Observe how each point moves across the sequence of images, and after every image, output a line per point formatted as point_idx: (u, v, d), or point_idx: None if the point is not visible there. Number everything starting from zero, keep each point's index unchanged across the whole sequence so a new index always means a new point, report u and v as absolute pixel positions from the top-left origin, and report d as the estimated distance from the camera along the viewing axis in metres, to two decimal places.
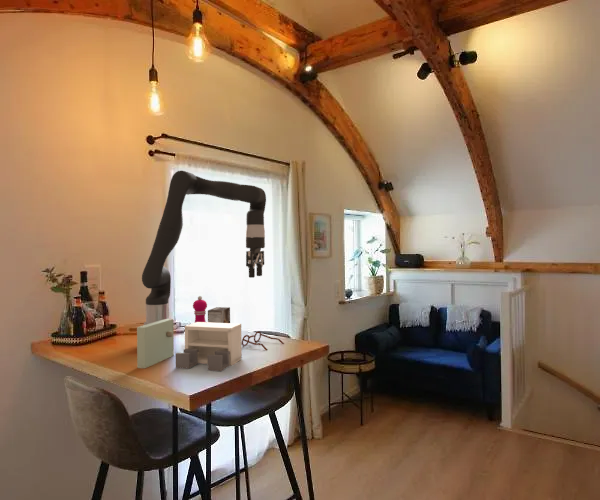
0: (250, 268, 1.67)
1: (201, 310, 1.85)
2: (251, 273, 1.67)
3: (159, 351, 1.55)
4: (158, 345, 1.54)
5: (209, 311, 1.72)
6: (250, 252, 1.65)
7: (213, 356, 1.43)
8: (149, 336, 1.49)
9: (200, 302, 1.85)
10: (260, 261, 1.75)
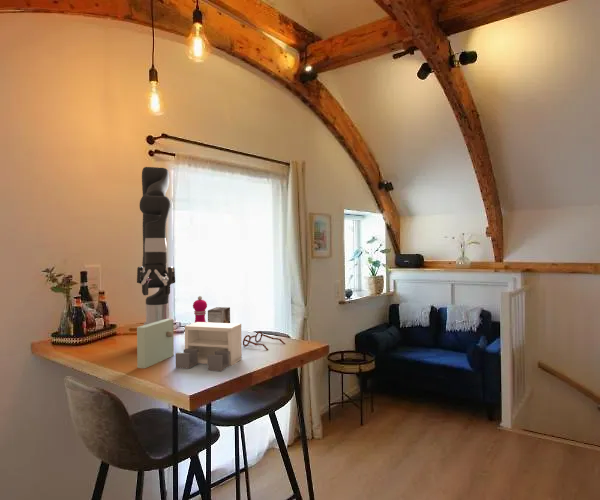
0: (169, 285, 1.54)
1: (201, 310, 1.85)
2: (169, 291, 1.54)
3: (159, 351, 1.55)
4: (158, 345, 1.54)
5: (209, 311, 1.72)
6: (173, 268, 1.54)
7: (213, 356, 1.43)
8: (149, 336, 1.49)
9: (200, 302, 1.85)
10: (151, 278, 1.57)
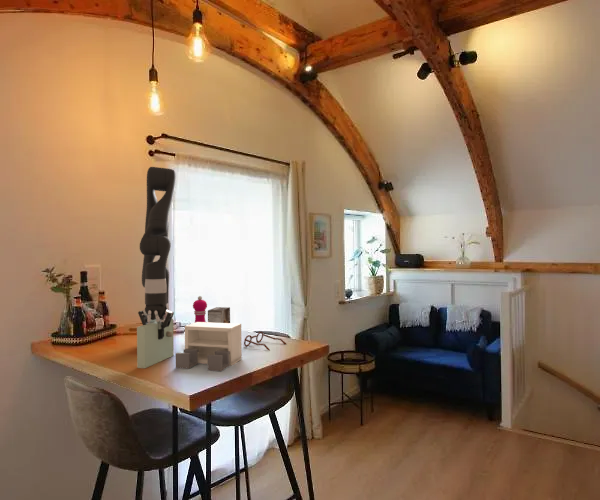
0: (163, 329, 1.55)
1: (201, 310, 1.85)
2: (163, 334, 1.55)
3: (159, 351, 1.55)
4: (158, 344, 1.54)
5: (209, 311, 1.72)
6: (172, 313, 1.54)
7: (213, 356, 1.43)
8: (149, 336, 1.49)
9: (200, 302, 1.85)
10: (154, 319, 1.57)
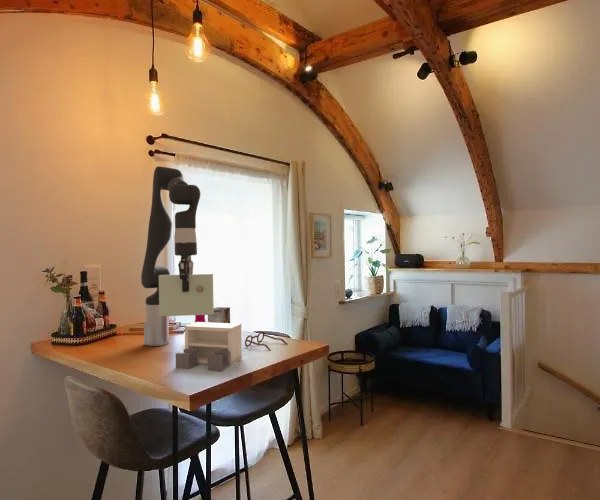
0: (184, 281, 1.46)
1: None
2: (185, 287, 1.46)
3: (185, 304, 1.47)
4: (182, 297, 1.47)
5: None
6: (183, 265, 1.43)
7: (213, 356, 1.43)
8: (166, 285, 1.47)
9: None
10: None
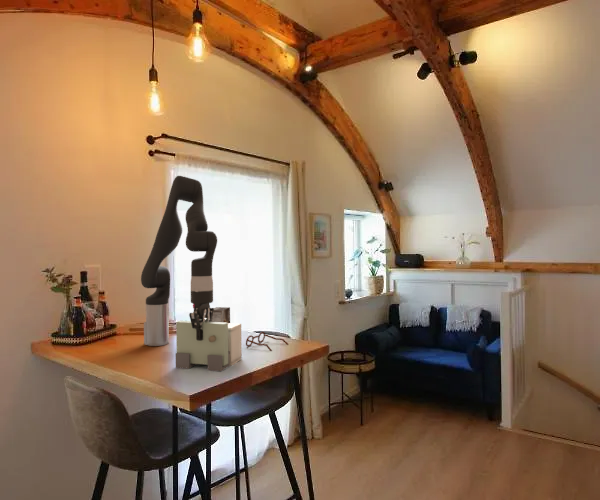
0: (197, 330, 1.45)
1: None
2: (199, 336, 1.45)
3: (199, 352, 1.46)
4: (197, 345, 1.46)
5: None
6: (194, 315, 1.41)
7: (213, 356, 1.43)
8: (183, 332, 1.48)
9: None
10: (206, 319, 1.48)
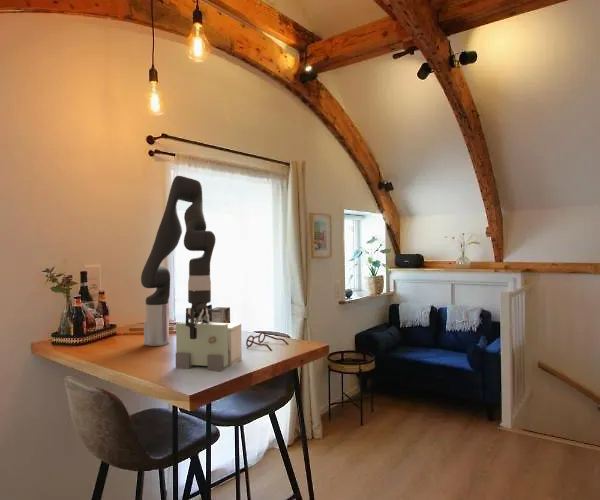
0: (191, 328, 1.41)
1: None
2: (192, 334, 1.41)
3: (199, 354, 1.46)
4: (197, 346, 1.46)
5: None
6: (190, 309, 1.39)
7: (213, 356, 1.43)
8: (183, 333, 1.48)
9: None
10: (206, 318, 1.48)
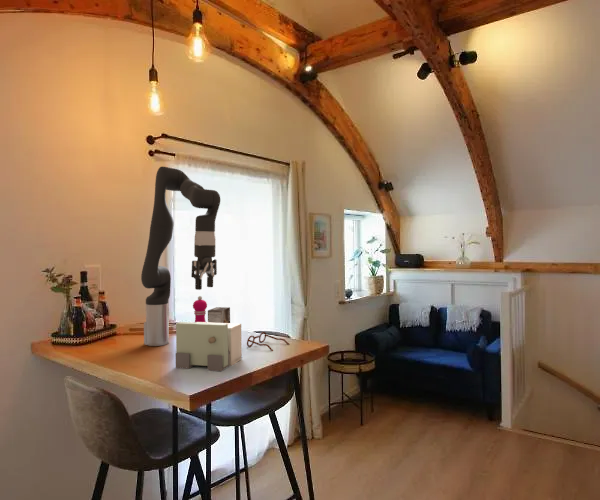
0: (196, 279, 1.52)
1: (201, 310, 1.85)
2: (197, 285, 1.52)
3: (199, 354, 1.46)
4: (197, 346, 1.46)
5: (209, 311, 1.72)
6: (196, 262, 1.50)
7: (213, 356, 1.43)
8: (183, 333, 1.48)
9: (200, 302, 1.85)
10: (210, 271, 1.59)
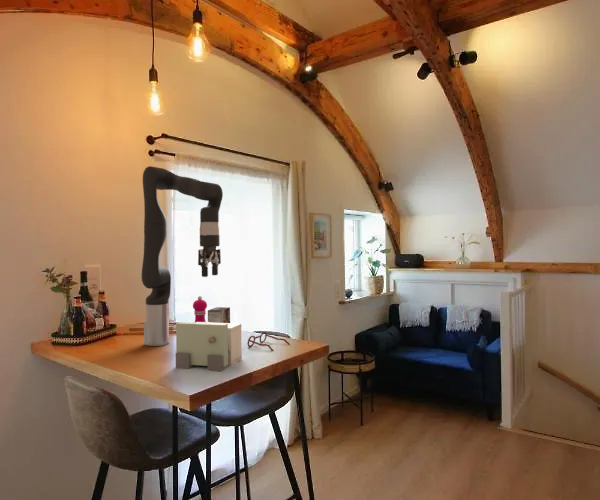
0: (203, 267, 1.61)
1: (201, 310, 1.85)
2: (204, 272, 1.61)
3: (199, 354, 1.46)
4: (197, 346, 1.46)
5: (209, 311, 1.72)
6: (202, 250, 1.60)
7: (213, 356, 1.43)
8: (183, 333, 1.48)
9: (200, 302, 1.85)
10: (215, 260, 1.69)
